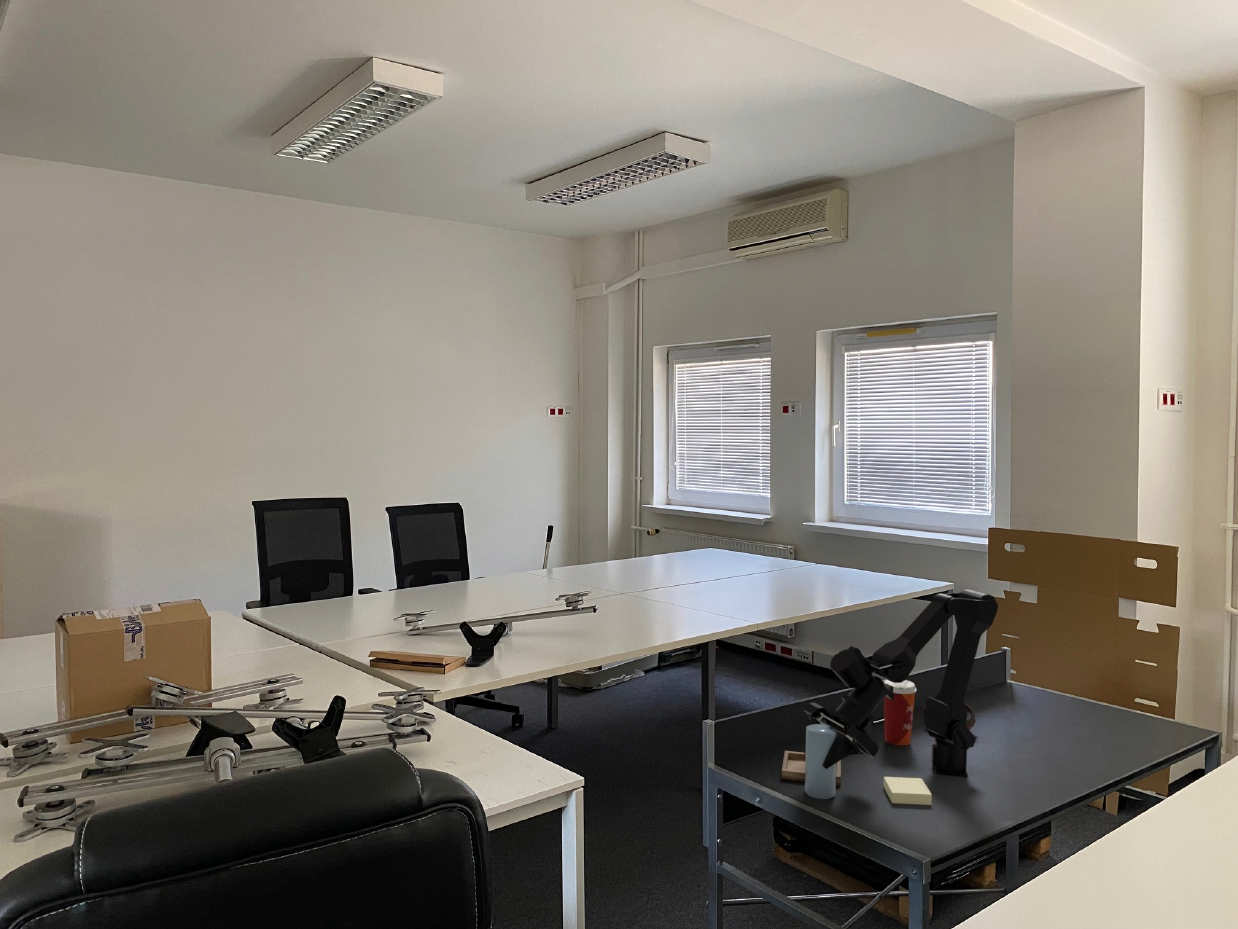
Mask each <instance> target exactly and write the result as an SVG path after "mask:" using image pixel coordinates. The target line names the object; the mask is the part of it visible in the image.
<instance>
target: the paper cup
mask: <svg viewBox="0 0 1238 929" xmlns="http://www.w3.org/2000/svg"><path fill="white" fill-rule="evenodd" d="M883 682H884V683H885V684H889V685H891V686H893V692H894V700H891V699H889V698H887V697H884V698H883V712H884V713H883V717H884V718H883V720H884V738H885V742H886V743H887V742H888V744H890V745H892V746H897V745H901V746H900V747H903V746H902V745H906V746H909V745H910V744H911V737H912V736H911V735H912V727H913V717H914V706H915V705H914V704H915V697H916V696H915V695H916V693H917V687H916V685H915V683H914V682H912V681H910V680H907V679H906V680H905V681H903V682H902V683H894V682H891V681H889V680H887V679H884V681H883Z"/></svg>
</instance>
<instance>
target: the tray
mask: <svg viewBox="0 0 1238 929" xmlns="http://www.w3.org/2000/svg"><path fill="white" fill-rule="evenodd" d="M804 753H805V752H800V751H799V752H798V751H792V750H791V751H789V750H784V755H783V761H782V766H781V779H782V780H788V779H789V780H791V781H798V782H805V764H806V755H805V754H804ZM841 764H842V760H840V761H839V762H837V763H836V786H841V780H842V779H841V778H842V777H841V776H842V774H841V773H842V770H841V769H842V767H841V766H842V765H841Z"/></svg>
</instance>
